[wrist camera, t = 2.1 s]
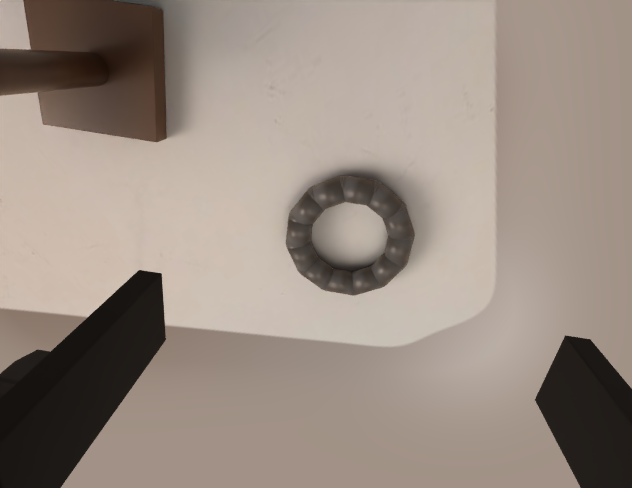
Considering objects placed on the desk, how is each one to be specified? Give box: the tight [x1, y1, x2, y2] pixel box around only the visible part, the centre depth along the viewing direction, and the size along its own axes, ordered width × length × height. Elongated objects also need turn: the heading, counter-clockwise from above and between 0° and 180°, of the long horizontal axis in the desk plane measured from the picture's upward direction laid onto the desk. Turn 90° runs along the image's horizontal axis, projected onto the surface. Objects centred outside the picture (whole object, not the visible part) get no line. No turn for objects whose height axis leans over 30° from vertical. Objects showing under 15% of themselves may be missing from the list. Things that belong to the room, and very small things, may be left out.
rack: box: [0, 0, 166, 142], centre depth 21 cm, size 8×8×12 cm
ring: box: [286, 176, 415, 295], centre depth 29 cm, size 9×9×2 cm
